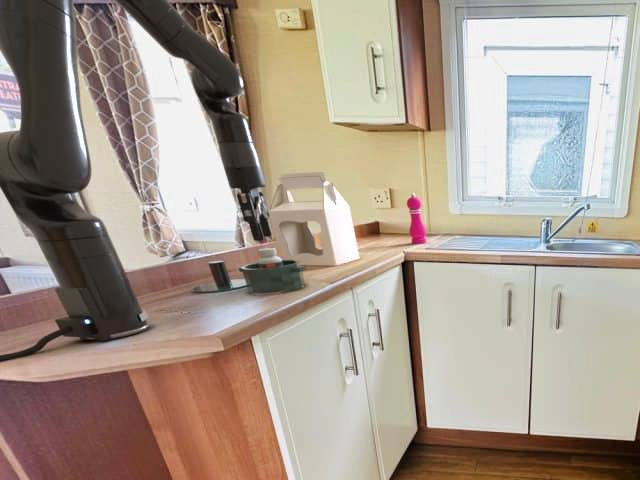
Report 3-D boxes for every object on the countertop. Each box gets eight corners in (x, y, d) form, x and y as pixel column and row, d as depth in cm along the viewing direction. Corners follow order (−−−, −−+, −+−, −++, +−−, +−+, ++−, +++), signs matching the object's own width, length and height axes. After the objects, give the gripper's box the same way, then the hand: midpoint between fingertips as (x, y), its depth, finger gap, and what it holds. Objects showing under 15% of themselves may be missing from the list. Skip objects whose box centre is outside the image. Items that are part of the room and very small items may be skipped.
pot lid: (224, 296, 105) (214, 267, 102) (180, 294, 109) (169, 266, 106) (267, 283, 118) (259, 257, 115) (225, 282, 121) (217, 257, 118)
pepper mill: (430, 242, 184) (424, 192, 175) (414, 244, 180) (407, 193, 172) (423, 241, 189) (417, 192, 181) (408, 243, 186) (401, 193, 177)
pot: (290, 295, 102) (283, 269, 100) (228, 294, 107) (219, 269, 104) (324, 283, 114) (318, 259, 111) (267, 282, 118) (260, 259, 115)
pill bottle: (274, 290, 107) (262, 251, 103) (261, 289, 109) (249, 250, 105) (293, 286, 111) (282, 247, 107) (280, 284, 113) (270, 247, 109)
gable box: (282, 265, 145) (257, 174, 133) (309, 258, 156) (288, 174, 144) (336, 266, 139) (316, 171, 127) (360, 259, 150) (343, 171, 138)
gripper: (233, 167, 103) (254, 236, 110) (213, 164, 91) (238, 243, 98) (266, 165, 105) (285, 234, 112) (252, 163, 92) (273, 240, 100)
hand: (263, 238), depth 105 cm, fingers open, 8 cm apart
